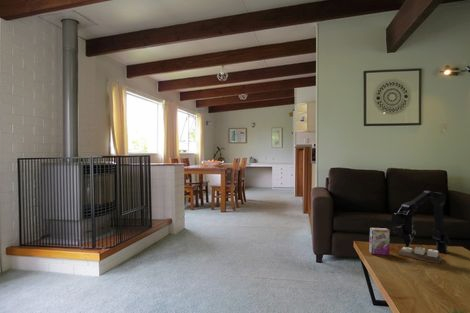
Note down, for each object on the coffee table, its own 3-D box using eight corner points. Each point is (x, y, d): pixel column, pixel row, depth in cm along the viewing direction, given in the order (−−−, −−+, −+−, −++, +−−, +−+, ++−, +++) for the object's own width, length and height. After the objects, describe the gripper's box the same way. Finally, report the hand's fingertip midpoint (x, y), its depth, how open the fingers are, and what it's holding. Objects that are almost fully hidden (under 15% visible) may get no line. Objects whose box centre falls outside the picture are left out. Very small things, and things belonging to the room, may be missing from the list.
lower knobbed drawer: (428, 253, 190) (428, 248, 190) (438, 255, 187) (438, 250, 187) (427, 255, 186) (427, 250, 186) (437, 257, 183) (437, 252, 183)
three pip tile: (403, 251, 199) (403, 246, 199) (412, 252, 196) (412, 248, 196) (402, 253, 196) (402, 248, 196) (410, 254, 192) (410, 249, 192)
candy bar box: (371, 254, 195) (372, 229, 195) (369, 252, 200) (369, 227, 200) (389, 255, 194) (390, 230, 193) (386, 252, 199) (387, 228, 198)
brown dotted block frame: (402, 251, 202) (402, 247, 202) (441, 259, 188) (441, 255, 188) (398, 255, 195) (398, 251, 195) (439, 263, 180) (439, 259, 180)
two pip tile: (415, 251, 195) (416, 246, 195) (425, 253, 192) (425, 248, 192) (414, 253, 191) (414, 248, 191) (423, 254, 188) (423, 249, 188)
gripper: (397, 219, 208) (397, 241, 208) (390, 223, 194) (389, 247, 194) (415, 221, 201) (415, 244, 201) (410, 226, 187) (409, 251, 187)
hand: (407, 247), depth 196 cm, fingers closed
